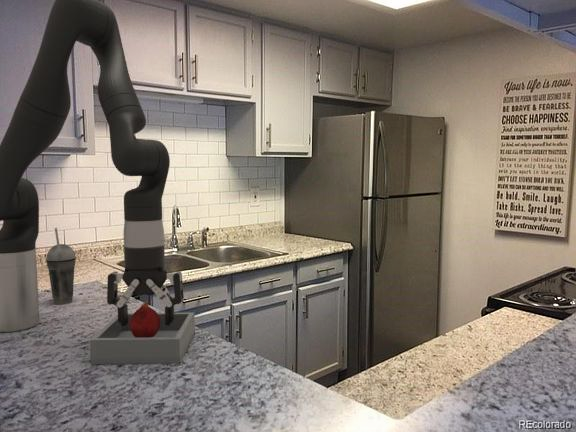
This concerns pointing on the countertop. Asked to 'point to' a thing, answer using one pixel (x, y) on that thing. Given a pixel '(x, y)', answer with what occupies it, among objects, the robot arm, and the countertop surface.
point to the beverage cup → (61, 272)
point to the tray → (143, 342)
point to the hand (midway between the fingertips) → (146, 324)
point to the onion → (145, 322)
